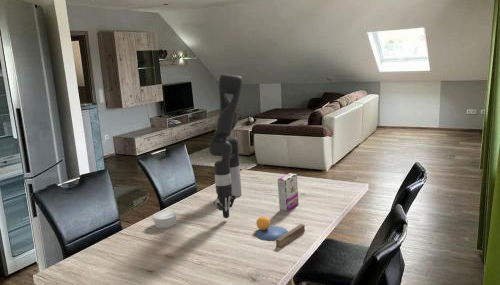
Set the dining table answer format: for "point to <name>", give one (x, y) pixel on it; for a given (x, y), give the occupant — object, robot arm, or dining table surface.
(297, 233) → the wooden stick
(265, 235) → the blue disc
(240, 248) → the dining table surface
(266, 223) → the ball
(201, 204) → the dining table surface
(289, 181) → the candy bar box
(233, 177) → the robot arm
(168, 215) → the ramekin
